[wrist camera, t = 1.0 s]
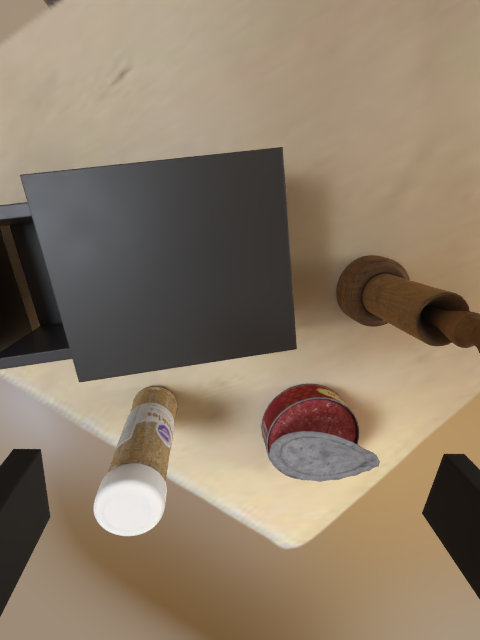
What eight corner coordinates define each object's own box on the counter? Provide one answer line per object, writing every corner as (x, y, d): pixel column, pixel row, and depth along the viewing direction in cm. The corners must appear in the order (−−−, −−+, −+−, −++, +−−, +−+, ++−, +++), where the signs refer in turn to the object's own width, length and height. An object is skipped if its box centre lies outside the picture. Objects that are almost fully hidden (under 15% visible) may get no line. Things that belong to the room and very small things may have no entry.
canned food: (331, 408, 42) (381, 486, 36) (259, 440, 41) (295, 526, 34) (334, 354, 34) (399, 440, 27) (244, 391, 33) (287, 491, 26)
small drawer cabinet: (117, 331, 32) (79, 382, 22) (84, 191, 28) (19, 174, 18) (267, 310, 33) (296, 349, 23) (254, 172, 29) (282, 146, 19)
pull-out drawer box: (8, 343, 30) (-67, 390, 22) (-38, 211, 27) (-146, 207, 18) (171, 320, 31) (160, 356, 23) (147, 191, 28) (124, 178, 20)
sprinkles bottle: (186, 401, 35) (178, 506, 22) (158, 431, 35) (134, 550, 23) (151, 375, 34) (121, 471, 21) (122, 407, 34) (76, 518, 21)
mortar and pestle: (329, 266, 32) (474, 317, 15) (392, 246, 33) (606, 275, 15) (342, 328, 34) (483, 434, 17) (402, 309, 35) (600, 396, 17)
